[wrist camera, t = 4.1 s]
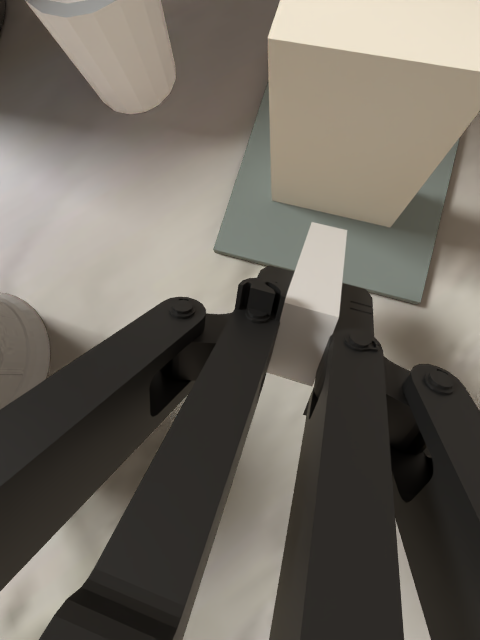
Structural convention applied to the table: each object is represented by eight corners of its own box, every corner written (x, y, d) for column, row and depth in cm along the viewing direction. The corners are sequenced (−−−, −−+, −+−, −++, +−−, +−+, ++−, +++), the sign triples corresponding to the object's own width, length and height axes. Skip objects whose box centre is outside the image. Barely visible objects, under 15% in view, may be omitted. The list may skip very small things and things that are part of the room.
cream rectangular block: (390, 227, 19) (507, 75, 10) (271, 200, 20) (267, 38, 11) (400, 187, 20) (523, 0, 10) (283, 162, 21) (289, -30, 11)
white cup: (172, 22, 24) (130, -120, 17) (195, 104, 23) (160, -15, 16) (81, 53, 24) (4, -73, 17) (98, 135, 23) (23, 33, 16)
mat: (416, 304, 19) (420, 302, 19) (214, 252, 21) (213, 249, 20) (488, 6, 22) (492, -3, 21) (302, -18, 23) (303, -27, 23)
